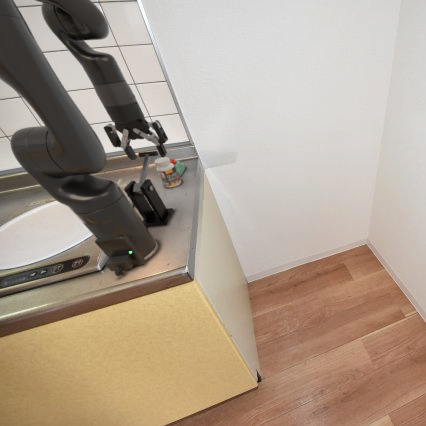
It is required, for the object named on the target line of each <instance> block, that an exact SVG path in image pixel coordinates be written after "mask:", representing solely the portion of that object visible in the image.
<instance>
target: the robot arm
mask: <svg viewBox="0 0 426 426" xmlns="http://www.w3.org/2000/svg"><path fill="white" fill-rule="evenodd" d="M34 1H35V2H38V3H41V6H40V8H41V9H40V10H41V15H42V18H43V20H44V22H45V24H46V26H47V27H48V28H49V30H50V31H51V33H53V35H54V36H55V37H56V38H57V39H58V40H59V41H60V42H61V44H62V45H64V47H65V48H66V50H68V51H69V52H70V55H72V56H73V57H74V59H75V60H76V61H77V62H78V63H79V64H80V66H81V67H82V69H83V71H84V72H85V74H86V76H87V78H88V79H89V81H90V83H91V84H92V86H93V89H94V92H95V93H96V96H97V97H98V99H99V101H100V102H101V104H102V106H103V107H104V109H105V111H106V113H107V115H108V116H109V118H110V120H111V121H112V122H113V123H114V124H112V123H108V124H106V125H105V126H103V130H104V132H105V134H106V136H107V137H108V140H109V141H110V143H111V145H112V146H113V148H120V149H122V150H123V151H124V153H125V154H126V156H127V158H128V159H130V161H135V160H137V158H138V156H137V154H136V152H135V150H134V149H133V147H132V145H130V144H131V140H132V141H136V140H146V141H147V142H151V143H152V144H154V145H155V148H156V151H157V152H158V155H160V158H162V157H167V154H168V152H167V149H166V147H165V145H164V144H166V143H167V141H169V137H168V135H167V134H166V131H165V130H164V127H163V126H162V124H161V122H160V121H159V120H158V119H156V120H154V121H150V122H149V121H148V120H147V119H146V118H145V115H144V112H143V110H142V108H141V106H140V104H139V102H138V100H137V98H136V95H135V94H134V92H133V90H132V88H131V86H130V84H129V83H128V81H127V80H126V78H125V75H124V74H123V71H122V70H121V67H120V66H119V64H118V62H117V60H116V58H115V57H114V55H112V54H110V53H108V52H104V51H103V52H102V51H98V50H95V49H93V48H92V47H91V46H90V45H89V44H88V42H86V41H101V40H105V39H107V38H108V36H109V35H110V27H109V22H108V20H107V19H106V17H105V14H103V12H102V11H101V9H100V8H99V7H98V6H97V5H96V4H95V3H94V2H93V1H92V0H34ZM0 80H1V81H2V82H4V84H6V85H8V86H9V87H10V88H11V89H12V90H13V91H15V93H17V94H18V95H19V96H20V97H21V98H22V99H23V100H25V102H26V103H27V104H28V105H29V106H30V107H31V108H32V110H33V111H34V112H35V114H36V115H37V116H38V118H39V120H40V121H41V122H42V123H43V125H40V126H37V125H36V126H28V127H23V128H20V129H18V130H16V131H15V132H14V133H12V135H11V137H10V141H9V142H10V149H11V152H12V154H13V156H14V158H15V160H16V161H17V162H18V164H19V165H20V166H21V167H22V169H23V170H24V171H25V172H26V173H27V174H28V175H29V176H30V177H31V178H32V179H33V180H34V181H35V182H36V183H37V184H38V185H39V186H40V187H41V188H42V189H43V190H45V191H46V193H48V195H50V196H51V197H52V198H53V199H54V200H55V201H56V202H58V203H60V204H62V205H64V206H65V207H67V208H69V209H70V211H72V213H73V214H74V215H75V216H76V217H77V218H78V219H79V221H80V222H81V223H82V224H83V225H84V226H85V227H86V228H87V229H88V231H89V232H90V233H91V234H92V235H93V236H94V237H95V238H96V239H95V240H94V243H95V244H96V245H97V247H98V248H99V249H100V250H101V251H102V252H103V253H104V254H105V255H106V256H107V258H108V259H107V260H106V262H105V263H104V265H105V267H107V268H108V270H109V271H110V272H114V275H115V276H116V277H121V276H123V275H124V274H125V273H124V271H123V270H131V269H132V268H133V267H135V266H142V265H145V263H146V262H147V261H148V260H150V259H151V258H152V257H153V256H154V255H155V254H156V253H157V252H158V250H159V243H158V241H157V240H156V239H155V238H154V236H153V234H152V233H151V232H150V231H149V229H148V227H146V226H145V224H144V223H143V220H142V217H140V215H139V214H138V212H137V211H136V209H135V207H133V205H132V203H131V202H130V200H129V199H128V198H127V196H126V195H125V192H124V191H123V190H122V189H121V188H120V186H119V185H118V184H117V183H116V182H115V181H114V180H112V179H109V178H104V177H101V176H96V175H94V174H98V173H100V172H102V171H104V170H105V168H106V166H107V161H108V159H107V153H106V151H105V147H104V145H103V143H102V141H101V139H100V138H99V136H98V134H97V133H96V131H95V130H94V129H93V127H92V125H91V124H90V122H89V121H88V120H87V118H86V117H85V115H84V114H83V113H82V111H81V110H80V108H79V107H78V105H77V104H76V102H75V101H74V100H73V99H72V97H71V96H70V95H71V94H69V92H68V91H67V90H66V88H65V87H64V85H63V83H62V81H61V80H60V78H59V77H58V75H57V74H56V72H55V70H54V69H53V67H52V66H51V63H50V62H49V60H48V58H47V57H46V56H45V54H44V52H43V50H42V49H41V47H40V45H39V44H38V42H37V40H36V38H35V36H34V35H33V33H32V30H31V29H30V27H29V25H28V23H27V21H26V19H25V17H24V16H23V14H22V12H21V11H20V9H19V7H18V6H17V4H16V2H15V1H14V0H0ZM150 128H151V129H150ZM152 130H154V132H153V131H152ZM118 132H119V133H120V134H122V135H121V138H120V136H119V134H118Z"/></svg>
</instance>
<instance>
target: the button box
mask: <svg viewBox="0 0 426 426" xmlns="http://www.w3.org/2000/svg"><path fill="white" fill-rule="evenodd" d="M174 160H175V159H174ZM175 162H176V164H175V165H174V166H175V168H176V170H177V172H178V175H179V177H182V175H183V174H184V172H185V170H186V166H185V163H184V162H183V163H181V161H180V160H177V159H176V160H175Z"/></svg>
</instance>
